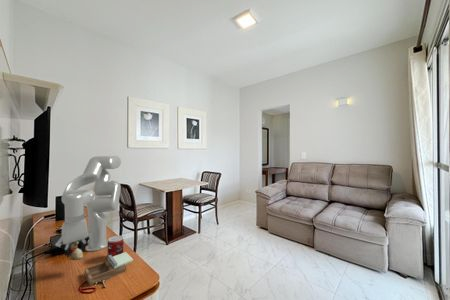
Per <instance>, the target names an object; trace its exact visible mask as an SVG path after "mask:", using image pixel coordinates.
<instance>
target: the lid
mask: <svg viewBox="0 0 450 300" xmlns="http://www.w3.org/2000/svg"><path fill="white" fill-rule="evenodd" d="M107 260H109V262H110V263H111V264H112V266H113V267H114V268H117V267H119V266H122V265H124V264H125V265H127V264H129V263H132V262H133V261H134V259H133V258H132V256H130V255H129V254H128V252H126V251H125V252H124V251H123V253H122V254H119V255H116V256H113V257H112V256H111V255H108V254H107Z"/></svg>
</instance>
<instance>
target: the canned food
mask: <svg viewBox="0 0 450 300" xmlns="http://www.w3.org/2000/svg"><path fill="white" fill-rule="evenodd" d="M107 241H108V246H107V256H108V255H111V256H112V257H113V256H116V255H119V254H122V253H124V236H123V235H114V236H111V237H109V238H108V239H107Z"/></svg>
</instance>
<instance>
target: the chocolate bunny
mask: <svg viewBox="0 0 450 300" xmlns="http://www.w3.org/2000/svg"><path fill="white" fill-rule="evenodd" d="M79 241H80V240H79ZM79 241H75V242H72V243H70V244H69V257H68V259H69V260H71V261H80V260H82V259H84V252H82V250H81V247H80V248H79V247H78V246H79V243H80V242H79Z"/></svg>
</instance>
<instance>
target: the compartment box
mask: <svg viewBox="0 0 450 300" xmlns="http://www.w3.org/2000/svg"><path fill="white" fill-rule="evenodd" d="M126 265H127V264H124V265H122V266H119V267H117V268H114V267H113V266H112V264H111V263H110V262H109V260H108V259H107V260H104V261H102V262H99V263H96V264H94V265H91V266H89V267H85V268H84V277H85V278H86V282H87V283H88V285H89V287H92V286H94V285H95V284H94V283H96V282H98V281H100V280H104V281H106V280H109V279H110V278H113V277H115V276H117V275H120V274H122V273H125V272H127V270H126V269H127V267H126ZM93 284H94V285H93Z"/></svg>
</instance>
